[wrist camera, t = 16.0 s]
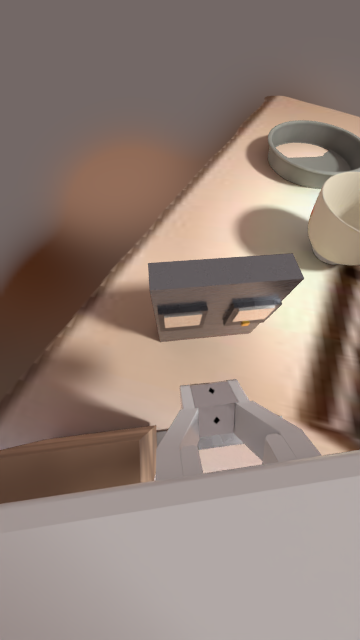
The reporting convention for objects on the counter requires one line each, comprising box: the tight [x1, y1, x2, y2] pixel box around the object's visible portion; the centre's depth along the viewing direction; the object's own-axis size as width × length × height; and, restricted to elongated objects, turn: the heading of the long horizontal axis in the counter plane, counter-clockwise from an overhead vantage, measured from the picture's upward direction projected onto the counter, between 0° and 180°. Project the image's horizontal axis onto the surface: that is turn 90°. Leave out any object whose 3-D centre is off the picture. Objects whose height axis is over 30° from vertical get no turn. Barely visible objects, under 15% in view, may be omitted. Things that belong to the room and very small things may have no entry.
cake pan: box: [268, 121, 360, 189], centre depth 49 cm, size 25×25×4 cm
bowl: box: [308, 172, 360, 265], centre depth 34 cm, size 16×16×10 cm
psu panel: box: [148, 253, 304, 450], centre depth 21 cm, size 17×27×14 cm, turn 96°
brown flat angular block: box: [0, 425, 157, 504], centre depth 17 cm, size 4×13×13 cm, turn 97°
